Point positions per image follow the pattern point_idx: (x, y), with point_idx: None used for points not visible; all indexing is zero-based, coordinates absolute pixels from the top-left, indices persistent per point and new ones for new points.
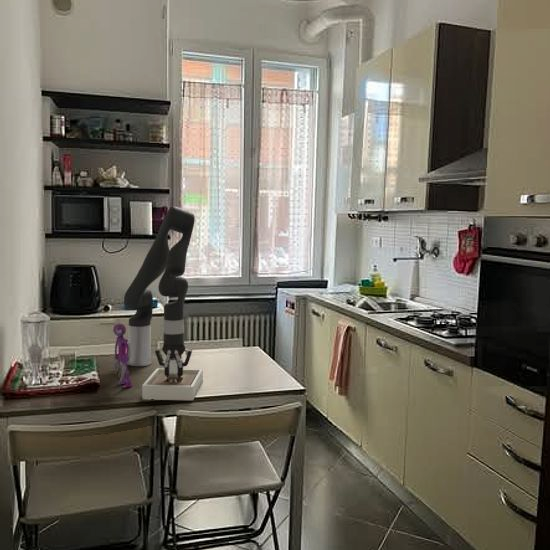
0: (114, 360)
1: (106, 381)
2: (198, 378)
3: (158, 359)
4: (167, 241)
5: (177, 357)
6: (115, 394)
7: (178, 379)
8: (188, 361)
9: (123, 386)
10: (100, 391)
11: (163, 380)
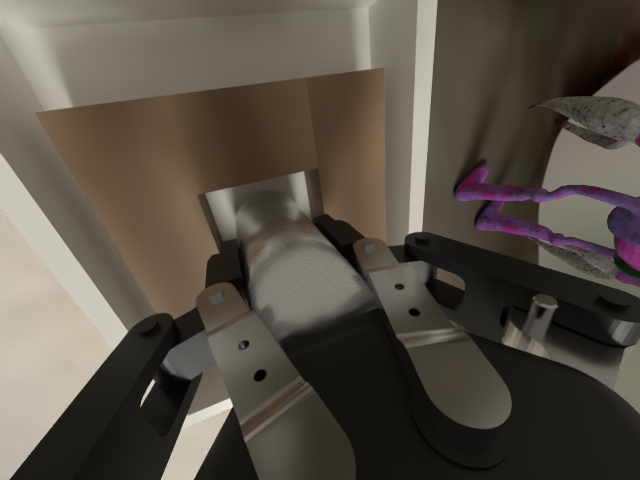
0: (614, 263)
1: (530, 221)
2: (88, 304)
3: (482, 253)
4: None
5: (259, 357)
6: (504, 67)
7: (238, 235)
8: (145, 403)
9: (486, 169)
10: None
11: (332, 196)
